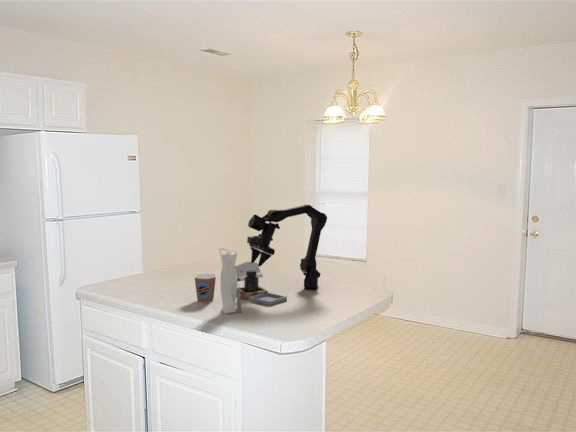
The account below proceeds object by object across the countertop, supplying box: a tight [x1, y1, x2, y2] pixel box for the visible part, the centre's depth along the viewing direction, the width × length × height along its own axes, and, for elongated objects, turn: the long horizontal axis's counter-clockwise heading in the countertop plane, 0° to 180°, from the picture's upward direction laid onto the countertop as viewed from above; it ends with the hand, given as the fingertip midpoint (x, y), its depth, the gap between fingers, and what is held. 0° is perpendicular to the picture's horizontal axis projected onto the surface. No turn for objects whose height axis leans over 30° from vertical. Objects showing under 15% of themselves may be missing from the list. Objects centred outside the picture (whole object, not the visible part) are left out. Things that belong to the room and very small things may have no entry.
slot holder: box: [237, 285, 269, 301], centre depth 247 cm, size 12×12×3 cm
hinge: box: [235, 261, 264, 282], centre depth 286 cm, size 17×5×10 cm, turn 133°
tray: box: [249, 292, 288, 307], centre depth 237 cm, size 12×12×2 cm
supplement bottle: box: [243, 270, 260, 293], centre depth 247 cm, size 7×7×12 cm
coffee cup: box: [193, 273, 217, 304], centre depth 236 cm, size 10×10×12 cm
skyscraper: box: [218, 247, 243, 316], centre depth 218 cm, size 8×8×28 cm
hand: (255, 264), depth 247 cm, fingers open, 9 cm apart
